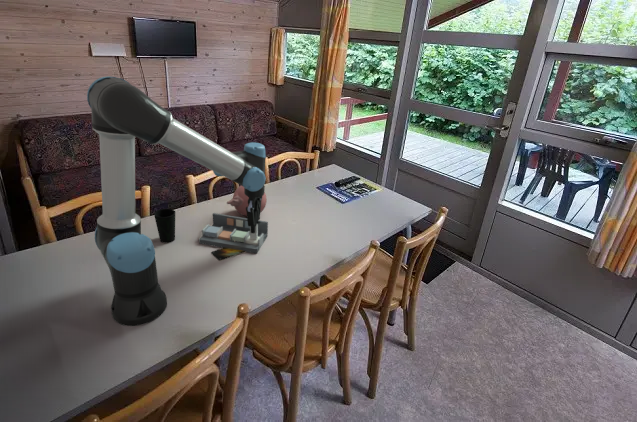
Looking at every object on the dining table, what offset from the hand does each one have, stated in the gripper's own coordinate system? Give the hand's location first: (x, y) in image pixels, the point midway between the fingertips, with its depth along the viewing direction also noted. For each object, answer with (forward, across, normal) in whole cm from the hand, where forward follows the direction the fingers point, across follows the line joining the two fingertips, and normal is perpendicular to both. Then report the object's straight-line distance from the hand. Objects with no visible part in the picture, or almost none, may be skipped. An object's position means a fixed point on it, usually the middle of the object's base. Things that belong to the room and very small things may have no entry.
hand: (253, 238), depth 146 cm
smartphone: (+4, -7, +7) cm, 10 cm away
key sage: (+1, 0, +6) cm, 6 cm away
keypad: (+3, +1, +9) cm, 9 cm away
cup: (+3, -7, +34) cm, 35 cm away
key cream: (+2, 0, 0) cm, 2 cm away
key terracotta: (+2, 0, +12) cm, 12 cm away
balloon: (+3, +23, +12) cm, 26 cm away
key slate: (+1, 0, +17) cm, 18 cm away
